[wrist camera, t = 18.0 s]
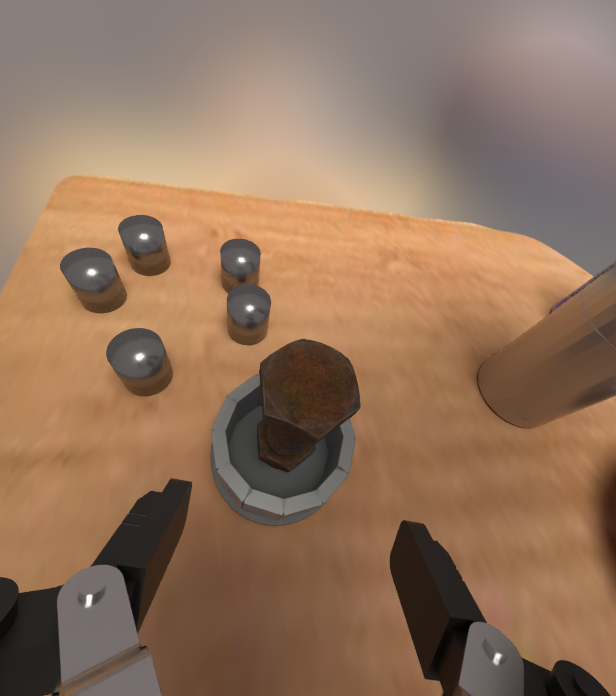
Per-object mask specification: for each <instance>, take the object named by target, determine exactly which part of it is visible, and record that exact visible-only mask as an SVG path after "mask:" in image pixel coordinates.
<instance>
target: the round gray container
mask: <svg viewBox="0 0 616 696" xmlns="http://www.w3.org/2000/svg"><path fill="white" fill-rule="evenodd" d="M261 420H263V415H262V402H261V388H260V375H259V374H256V377H255V376H252V377H251V378H250V379H248V380H247V381H246V382H244V383H243V384H242V385H240V386H239V387H238V388H236V389H235V390H234V391H232V392H231V393H230V394H228V395H227V397H226V398H225V400H224V403H223V405H222V407H221V409H220V412H219V414H218V416H217V418H216V421H215V423H214V425H213V427H212V440H213V443H212V447H211V467H212V473H213V477H214V480H215V483H216V486H217V488H218V490H219V492H220V494H221V495H222V497H223V498H224V500H225V501H226V502H227V503H228V505H229V506H230V507H231V508H232V509H233V510H235V511H236V512H237V513H238V514H240V515H241V516H243V517H245V518H246V519H248V520H251V521H253V522H256V523H260V524H264V525H273V526H277V525H286V524H291V523H294V522H297V521H300V520H302V519H304V518H306V517H308V516H310V515H312V514H313V513H314V512H316V511H317V510H318V509H320V508H321V507H322V506H323V505H324V504H325V503H326V501H327V500H328V499H329V497H330V496H331V495H332V494H333V493H334V492H335V490H336V489H337V488H338V487H339V486H340V485H341V483H342V482H343V481H344V480H345V479H346V478H347V477H348V474H349V473H350V468H351V462H352V457H353V451H354V446H355V440H356V438H355V437H356V436H355V433H354V430H353V427H352V424H351V421H350V419H348V420H347V421H345V422H344V423H343V424H341V425H340V426H339V427H338V428H336V429H335V430H334V431H332V432H331V433H330V434H329V435H327V436H326V437H325V438H323V439H322V440H321V441H319V442H318V443H317V444H316V445H315V446H316V450H315V452H314V453H313V454H312V455H310V456H309V457H308V458H307V459H306V460H304V461H303V462H302V463H301V464H299V465H298V466H297V467H296V468H294V469H293V470H291V471H290V472H289V473H287V472H285V471H282V470H279V469H275V468H272V467H270V466H269V465H268V464H266V463H265V462H263V461H261V460H260V459H259V455H258V441H257V424H258V423H259V422H260V421H261Z"/></svg>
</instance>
